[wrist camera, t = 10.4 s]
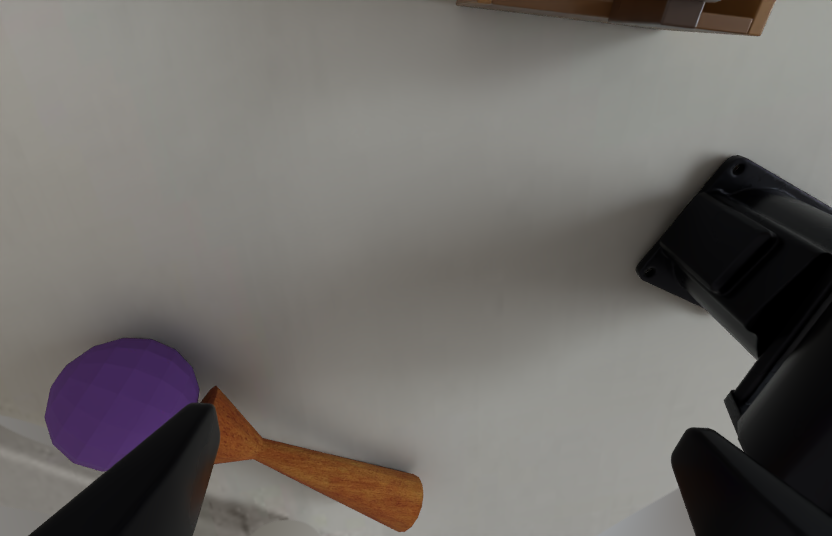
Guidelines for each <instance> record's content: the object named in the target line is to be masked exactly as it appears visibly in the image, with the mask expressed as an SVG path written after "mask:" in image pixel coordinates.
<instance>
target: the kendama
mask: <svg viewBox="0 0 832 536" xmlns="http://www.w3.org/2000/svg"><path fill="white" fill-rule="evenodd" d="M198 396H199V387H198V383H197V380H196V377H195V374H194V371H193V368H192V367H191V365H190V364H189V363H188V362H187V361H186V360H185V359H184V358H183V357H182V356H181V355H180V354H179V353H178V352H177V351H176V350H175V349H174V348H171V347H169V346H166V345H164V344H162V343H159V342H157V341H155V340H152V339H138V338H121V339H118V340H114V341H111V342H107V343H104V344H100V345H97V346H94V347H92V348H91V349H89V350H88V351H86V352H85V353H83V354H82V355H80V356H79V357H78V358H76V359H75V360H73V361H72V362H70V363H69V364H67V365H66V367H65V368H64V369H63V370H62V372H61V373H60V374H59V376H58V377H57V379H56V380H55V382H54V383H53V385H52V386H51V389H50V393H49V398H48V403H47V408H46V413H45V421H46V424H47V427H48V431H49V434H50V437H51V440H52V443H53V445H54V446H55V447H56V448H58V449H59V450H60V451H61V452H62V453H63V454H64V455H65V456H66V457H67V458H68V459H69V460H71V461H72V462H73V463H75V464H78V465H82V466H85V467H89V468H92V469H95V470H99V471H107V470H108V469H110V468H111V467H112V466H113V465H115V464H116V463H117V462H118V461H119V460H121V459H122V458H123V457H124V456H125V455H127V454H128V453H129V452H130V451H132V450H133V449H134V448H135V447H136V446H138V445H139V444H140V443H141V442H142V441H144V440H145V439H146V438H147V437H148V436H150V435H151V434H152V433H153V432H155V431H156V430H157V429H158V428H159V427H161V426H162V425H163V424H164V423H165V422H167V421H168V420H169V419H170V418H171V417H173V416H174V415H175V414H176V413H178V412H179V411H180V410H181V409H182V408H184V407H185V406H186V405H188V404H190V403H198ZM201 403H210V404H213V405H214V406H215V408H216V413H217V418H218V424H219V429H220V444H219V448H218V452H217V455H216V458H215V462H214V464H219V463H227V462H234V461H242V460H249V459H254V460H256V461H258V462H260V463H262V464H264V465H266V466H268V467H270V468H272V469H274V470H276V471H278V472H280V473H282V474H284V475H286V476H288V477H290V478H292V479H294V480H296V481H298V482H300V483H302V484H304V485H306V486H308V487H310V488H312V489H314V490H316V491H318V492H320V493H322V494H324V495H326V496H328V497H330V498H332V499H334V500H336V501H338V502H340V503H342V504H344V505H346V506H348V507H350V508H352V509H354V510H356V511H358V512H360V513H362V514H364V515H366V516H368V517H370V518H372V519H374V520H376V521H378V522H380V523H382V524H384V525H386V526H388V527H390V528H392V529H394V530H396V531H398V532H405V531H406V530H408V529H409V528H410V527H412V525H413V524H414V522H415V521H416V519H417V518H418V515H419V513H420V510H421V507H422V501H423V487H422V483H421V481H420V479H419V477H417V476H416V475H414V474H410V473H406V472H402V471H398V470H393V469H389V468H385V467H381V466H377V465H373V464H368V463H364V462H360V461H356V460H352V459H347V458H343V457H339V456H335V455H331V454H327V453H322V452H318V451H314V450H310V449H306V448H302V447H297V446H293V445H289V444H285V443H281V442H276V441H272V440H268V439H264V438H262V437H261V436H260V435H259V434H258V432H257V431H256V430H255V429H254V428H253V427H252V426H251V424H250V423H249V422H248V421H247V420H246V419H245V418H244V417H243V415H242V414H241V413H240V412H239V411H238V410H237V409H236V407H235V406H234V405H233V404H232V403H231V402H230V401H229V399H228V398H227V397H226V396H225V395H224V394H223V393H222V392H221V390H220V389H219V388H218V387H217V386H214V387H213V388H212V389H211V390H210V391H209V392H208V393H207V395H206V396H205V397H204V399H203V400H202V402H201Z"/></svg>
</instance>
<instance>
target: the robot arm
mask: <svg viewBox="0 0 832 536" xmlns="http://www.w3.org/2000/svg"><path fill="white" fill-rule="evenodd" d="M738 164H739V167H738V169H737V170H736V171H735V172H733V169H734V167H735V166H736V165H738ZM649 268H652V269H651V270H650V271H649V272H646V270H647V269H649ZM645 272H646V273H645ZM636 273H637V275H638V276H639V277H640V278H641V279H642V280H644V281H646V282H648V283H650V284H652V285H654V286H657V287H659V288H661V289H663V290H665V291H668V292H670V293H672V294H674V295H676V296H679V297H681V298H683V299H685V300H687V301H689V302H692V303H694V304H696V305H698V306H700V307H703V308H704V309H706V310H707V311H708V312H709V313H710V314H711V315H712V316H713V317H714V318H715V319H716V320H717V321H718V322H719V323H720V324H721V325H722V326H723V327H724V328H725V329H726V330H727V331H728V332H729V333H730V334H731V335H732V336H733V337H734V338H735V339H736V340H737V341H738V342H739V343H740V344H741V345H742V346H743V347H744V348H745V349H746V350H747V351H748V352H749V353H750V354H751V355H752V356H753V357H754V358H755V359H756V360H757V361H756V363H755V364H754V365H753V367H752V368H751V369H750V371H749V372H748V373H747V375H746V376H745V377H744V379H743V380H742V381H741V383H740V384H739V386H738V387H737V388H736V390H731V391H730V393H729V394H728V395H727V397H726V398H725V400H724V403H725V405H726V408H727V410H728V413H729V415H730V418H731V420H732V423H733V425H734V428H735V430H736V432H737V435H738V440H739V442H740V445H741V447H742V449H743V451H744V452H743V451H742V450H740V449H739V448H738V447H736V446H735V445H734V444H732V443H731V442H730V441H728V440H727V439H725V438H724V437H723V436H721V435H720V434H719V433H717V432H716V431H714V430H712V429H709V428H695V427H692V428H689V429H687V430H686V431H685V433H684V434H683V436H682V437H681V439H680V441H679V442H678V444H677V446H676V447H675V449H674V451H673V453H672V456H671V464H672V468H673V471H674V474H675V477H676V480H677V483H678V486H679V489H680V491H681V494H682V497H683V500H684V503H685V506H686V509H687V512H688V515H689V518H690V521H691V523H692V526H693V529H694V532H695V535H696V536H832V208H831V207H829V206H828V205H826V204H824V203H823V202H821V201H819V200H817V199H816V198H814V197H812V196H811V195H809V194H807V193H805V192H804V191H802V190H800V189H799V188H797V187H795V186H793V185H792V184H790V183H788V182H787V181H785V180H783V179H782V178H780V177H778V176H776V175H775V174H773V173H771V172H770V171H768V170H766V169H764V168H763V167H761V166H759V165H758V164H756V163H754V162H753V161H751V160H749V159H747V158H745V157H742V156H739V155H735V156H732V157H730V158H728V159H727V160H726V161H725V162H724V163H723V164H722V165H721V166H720V167H719V169H718V170H717V171H716V172H715V173H714V175H713V176H712V177H711V178H710V179H709V181H708V182H707V183H706V184H705V185H704V187H703V188H702V189H701V190H700V191H699V193H698V194H697V195H696V196H695V197H694V198H693V200H692V201H691V202H690V203H689V204H688V206H687V207H686V208H685V209H684V210H683V212H682V213H681V214H680V215H679V216H678V218H677V219H676V220H675V221H674V222H673V224H672V225H671V226H670V227H669V228H668V230H667V231H666V232H665V233H664V234H663V236H662V237H661V238H660V239H659V240H658V242H657V243H656V244H655V245H654V246H653V248H652V249H651V250H650V251H649V252H648V253H647V255H646V256H645V257H644V258H643V259H642V261H641V262H640V263H639V264H638V266H637V268H636ZM219 444H220V429H219V424H218V418H217V413H216V408H215V406H214V405H213V404H210V403H190V404H188V405H186V406H185V407H184V408H182V409H181V410H180V411H179V412H178V413H176V414H175V415H174V416H173V417H171V418H170V419H169V420H168V421H167V422H165V423H164V424H163V425H162V426H161V427H159V428H158V429H157V430H156V431H155V432H153V433H152V434H151V435H150V436H148V437H147V438H146V439H145V440H144V441H142V442H141V443H140V444H139V445H138V446H136V447H135V448H134V449H133V450H132V451H130V452H129V453H128V454H127V455H125V456H124V457H123V458H122V459H121V460H119V461H118V462H117V463H116V464H115V465H113V466H112V467H111V468H110V469H108V470H107V471H106V472H105V473H104V474H102V475H101V476H100V477H99V478H98V479H96V480H95V481H94V482H93V483H92V484H90V485H89V486H88V487H87V488H85V489H84V490H83V491H82V492H81V493H79V494H78V495H77V496H76V497H75V498H73V499H72V500H71V501H70V502H69V503H67V504H66V505H65V506H64V507H62V508H61V509H60V510H59V511H58V512H56V513H55V514H54V515H53V516H52V517H50V518H49V519H48V520H47V521H46V522H44V523H43V524H42V525H41V526H39V527H38V528H37V529H36V530H35V531H34V532H32V533H31V534H30V535H29V536H193V533H194V530H195V527H196V523H197V520H198V517H199V513H200V510H201V507H202V503H203V500H204V496H205V493H206V489H207V486H208V483H209V479H210V476H211V472H212V469H213V465H214V462H215V458H216V455H217V452H218V448H219Z"/></svg>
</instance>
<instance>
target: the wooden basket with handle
mask: <svg viewBox="0 0 832 536" xmlns="http://www.w3.org/2000/svg"><path fill="white" fill-rule="evenodd" d="M775 2H776V0H457V1H456V5H457V6H466V7H474V8H483V9H491V10H500V11H508V12H517V13H525V14H534V15H542V16H551V17H559V18H568V19H576V20H584V21H593V22H601V23H610V24H618V25H627V26H635V27H644V28H652V29H661V30H673V31H688V32H703V33H717V34H732V35H747V36H760V35H761V34H762V31H763V29H764V27H765V24H766V22H767V20H768V18H769V15H770V13H771V11H772V8H773V6H774V4H775Z"/></svg>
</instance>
